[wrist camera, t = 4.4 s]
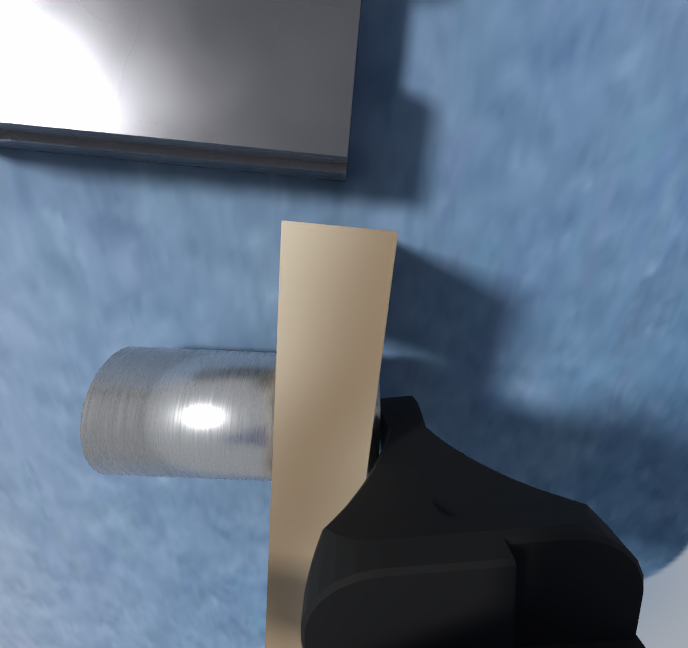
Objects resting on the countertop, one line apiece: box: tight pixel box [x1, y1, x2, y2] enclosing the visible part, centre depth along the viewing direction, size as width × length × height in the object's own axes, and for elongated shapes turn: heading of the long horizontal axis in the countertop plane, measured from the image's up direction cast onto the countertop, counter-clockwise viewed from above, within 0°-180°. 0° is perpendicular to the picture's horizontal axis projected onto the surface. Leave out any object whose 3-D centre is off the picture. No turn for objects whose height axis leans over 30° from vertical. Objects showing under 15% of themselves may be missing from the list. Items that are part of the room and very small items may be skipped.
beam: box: [265, 221, 398, 648], centre depth 10 cm, size 2×12×6 cm, turn 175°
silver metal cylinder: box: [80, 346, 380, 481], centre depth 11 cm, size 8×4×4 cm, turn 87°
